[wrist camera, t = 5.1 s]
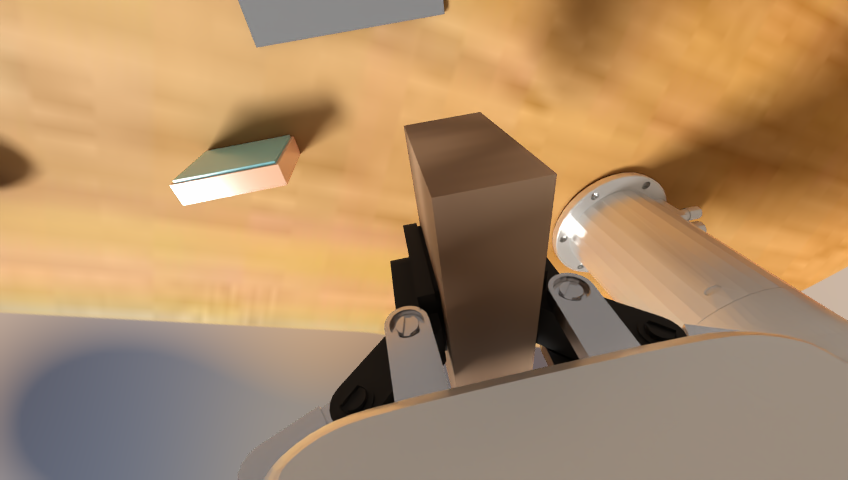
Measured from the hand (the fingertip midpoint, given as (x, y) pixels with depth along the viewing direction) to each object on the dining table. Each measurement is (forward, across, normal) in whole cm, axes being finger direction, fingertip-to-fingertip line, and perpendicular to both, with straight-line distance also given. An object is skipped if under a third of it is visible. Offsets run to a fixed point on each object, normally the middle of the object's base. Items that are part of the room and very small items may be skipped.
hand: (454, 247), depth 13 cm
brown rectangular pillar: (0, 0, 0) cm, 0 cm away
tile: (+17, +13, 0) cm, 21 cm away
